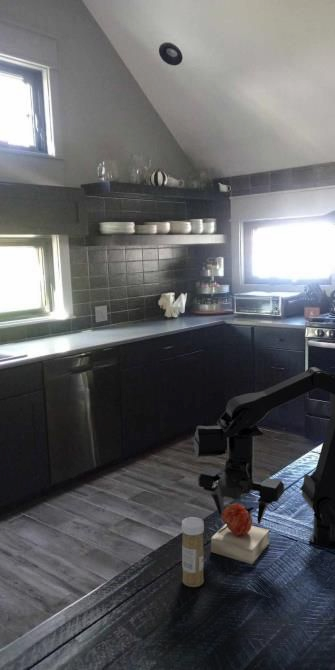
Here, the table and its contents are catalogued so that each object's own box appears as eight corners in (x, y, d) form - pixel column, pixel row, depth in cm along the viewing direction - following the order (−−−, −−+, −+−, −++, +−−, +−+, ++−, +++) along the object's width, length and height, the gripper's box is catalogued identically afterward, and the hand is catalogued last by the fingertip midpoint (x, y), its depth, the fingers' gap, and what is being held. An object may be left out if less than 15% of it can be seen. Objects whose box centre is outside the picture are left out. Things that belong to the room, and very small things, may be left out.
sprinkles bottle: (208, 583, 117) (208, 522, 115) (190, 590, 115) (190, 529, 113) (195, 572, 121) (195, 513, 119) (177, 579, 118) (177, 519, 116)
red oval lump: (225, 551, 127) (261, 529, 125) (206, 523, 128) (241, 501, 126) (230, 538, 134) (264, 516, 132) (212, 512, 135) (245, 490, 133)
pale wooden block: (229, 534, 138) (230, 519, 137) (268, 545, 133) (269, 530, 132) (211, 554, 129) (211, 537, 129) (251, 566, 124) (252, 549, 123)
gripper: (187, 459, 124) (188, 525, 127) (270, 474, 116) (268, 545, 118) (207, 443, 134) (207, 504, 137) (285, 456, 126) (283, 521, 128)
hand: (239, 518), depth 130 cm, fingers open, 9 cm apart
